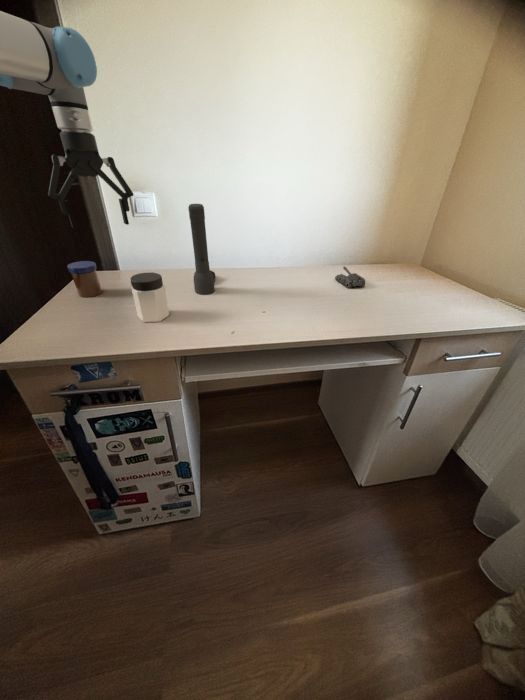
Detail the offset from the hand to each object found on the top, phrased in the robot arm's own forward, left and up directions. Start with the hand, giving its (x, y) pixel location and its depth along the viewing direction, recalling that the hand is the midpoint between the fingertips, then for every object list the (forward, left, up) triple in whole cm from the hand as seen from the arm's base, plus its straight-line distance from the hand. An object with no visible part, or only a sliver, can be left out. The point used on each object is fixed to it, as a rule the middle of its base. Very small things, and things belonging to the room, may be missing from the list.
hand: (101, 225), depth 80 cm
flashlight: (+27, -7, -23) cm, 36 cm away
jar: (+5, -17, -23) cm, 29 cm away
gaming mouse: (+32, +1, -23) cm, 39 cm away
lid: (-7, +11, -13) cm, 19 cm away
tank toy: (+80, -30, -23) cm, 89 cm away
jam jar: (-7, +11, -23) cm, 26 cm away
